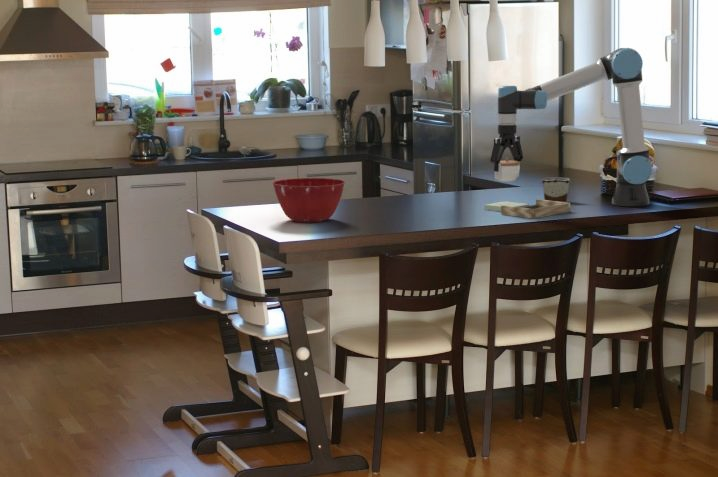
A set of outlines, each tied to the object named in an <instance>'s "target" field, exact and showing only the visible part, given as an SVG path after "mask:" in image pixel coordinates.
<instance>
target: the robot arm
mask: <svg viewBox="0 0 718 477" xmlns="http://www.w3.org/2000/svg"><path fill="white" fill-rule="evenodd" d="M642 70H643V58H642V56H641V54H640V53H639V52H638V51H637V50H636V49H633V48H629V47H621V48H617V49H616V50H613V51H611V52H610V53H609V54H607V55H604V56H602V57H599V58H598V59H597V62H593V63H591V64H589V65H585V66H584V67H581V68H578V69H576V70H574V71H572V72H569V73H566V74H563V75H561V76H559V77H556V78H553V79H551V80H548V81H546V82H544V83H541V84H539V85H536V86H533V87H529V88H526V89H525V90H518V87H517V86H516V85H501V86H499V87H498V90H497V115H498V116H497V123H498V125H497V134H498V135H499V137H497V138H496V137H494V138H493V145H492V146H493V147H492V151H491V156H490V163H491V164H493V172H494V171H495V172H494V180H496V181H497V180H498V181H499V180H501V164H499V163H500V161H502V157H503V155H504V152H505V151H506V150H507V148H508V149H509V152H510V154H511V156H512V159H513V161H519V162H522V160H524V155H523V150H522V145H521V136H518V135H516V134H517V127H518V126H517V121H518V119H517V117H518V115H517V112H518V110H538V111H539V110H545V109H547V107H548V106H547V104H548V102H549V101H552V100H554V99H556V98H559V97H562V96H564V95H567V94H570V93H572V92H575V91H577V90H580V89H583V88H585V87H588V86H590V85H592V84H595V83H598V82H600V81H603V80H605V81H609V80H612V85H613V86H615V87H616V92H617V101H618V110H619V120H620V130H621V131H620V133H621V140H622V142H621V143H622V148H621V149H619V150H617V153H616V154H617V155H616V159H617V160H616V186H615V189H614V192H613V195H612V198H611V204H612V205H614V206H619V207H645V206H649V205H650V197H649V194H648V190H647V187H646V182H647V181H648V180H649V179H650V178H651V177H652V173H653V164H652V162H651V158H650V157H651V154H650V148H649V147H648V146H647V145H646V144H645V136H644V135H645V134H644V125H643V114H642V111H643V110H642V101H641V91H640V84H641V83H642V82H643V71H642ZM517 178H520V173H519V174H518V176H517Z"/></svg>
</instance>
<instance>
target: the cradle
mask: <svg viewBox="0 0 718 477" xmlns="http://www.w3.org/2000/svg"><path fill="white" fill-rule="evenodd" d="M570 212H571V202H558V201H549V200H544V199H535V204H531V205H530V204H529V206H524V207H513V206H505V205H502V206H501V212H500V215H504V216H513V217H518V216H519V217H520V218H526V217H527V218H529V219H538V218H543V217H549V216H553V215H558V214H564V213H565V214H566V213H570ZM519 217H518V218H519Z"/></svg>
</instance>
